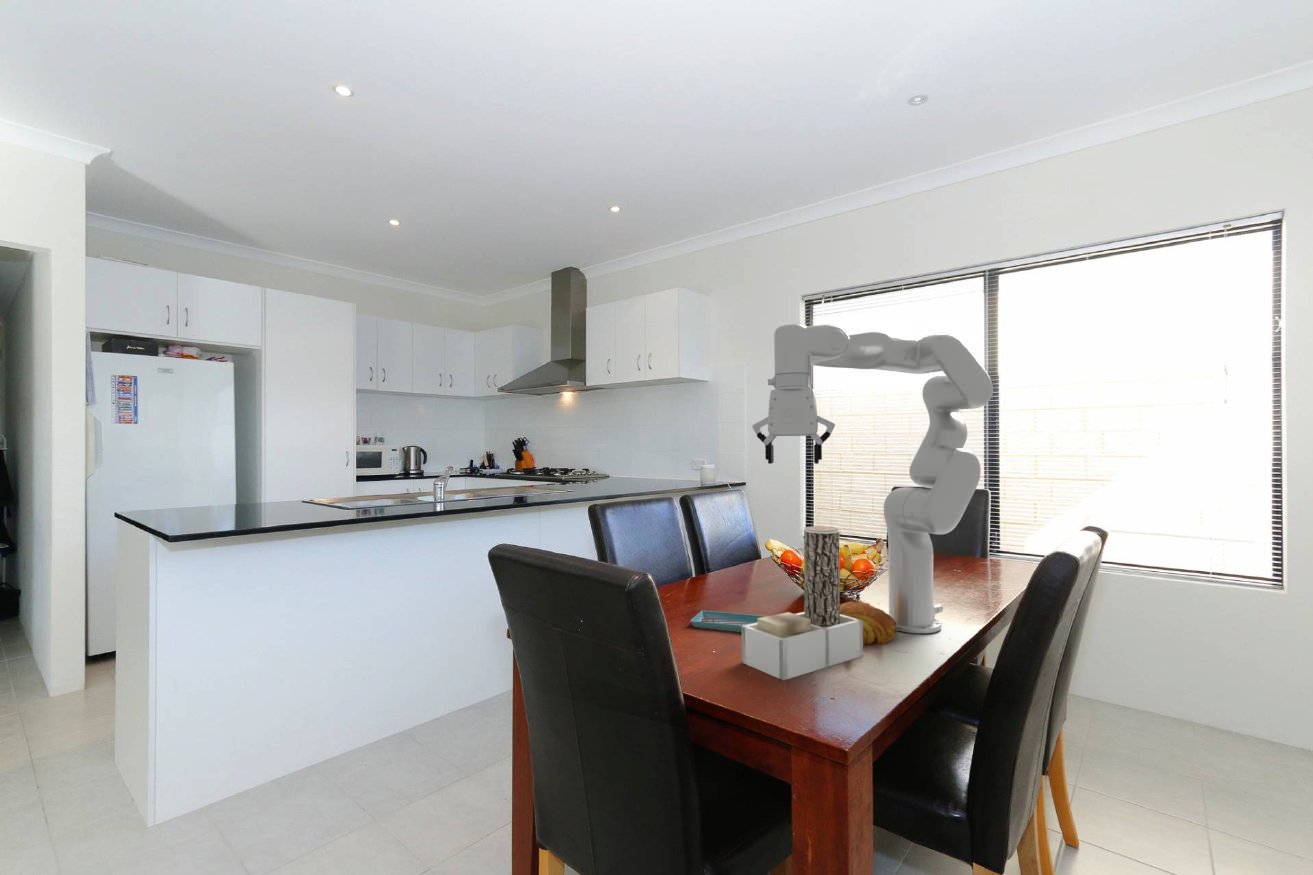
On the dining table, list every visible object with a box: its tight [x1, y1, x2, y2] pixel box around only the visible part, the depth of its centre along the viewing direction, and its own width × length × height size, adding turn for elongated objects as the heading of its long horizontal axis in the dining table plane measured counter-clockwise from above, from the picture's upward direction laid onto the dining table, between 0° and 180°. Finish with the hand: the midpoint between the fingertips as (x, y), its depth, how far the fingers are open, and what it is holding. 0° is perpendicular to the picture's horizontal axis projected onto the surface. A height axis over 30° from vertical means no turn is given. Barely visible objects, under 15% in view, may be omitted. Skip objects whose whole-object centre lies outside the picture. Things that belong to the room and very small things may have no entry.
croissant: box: [840, 601, 897, 645], centre depth 137 cm, size 14×16×8 cm
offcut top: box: [757, 611, 811, 638], centre depth 119 cm, size 8×6×3 cm
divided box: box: [741, 611, 864, 681], centre depth 122 cm, size 22×11×7 cm, turn 124°
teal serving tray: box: [690, 610, 767, 633], centre depth 143 cm, size 26×9×2 cm, turn 68°
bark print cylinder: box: [803, 525, 841, 628], centre depth 125 cm, size 7×7×25 cm
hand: (793, 463), depth 134 cm, fingers open, 9 cm apart
